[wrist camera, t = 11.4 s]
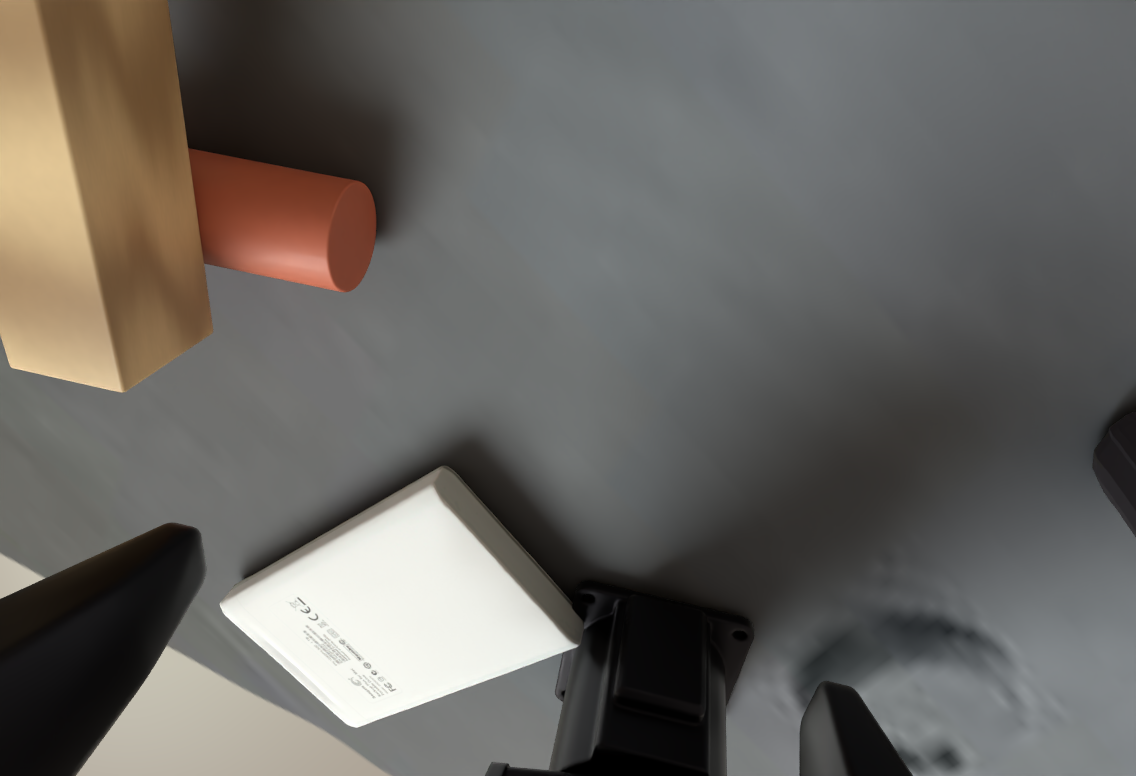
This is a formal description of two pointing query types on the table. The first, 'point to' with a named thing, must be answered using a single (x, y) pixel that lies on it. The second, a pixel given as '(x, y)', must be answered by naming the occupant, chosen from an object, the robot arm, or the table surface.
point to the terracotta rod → (283, 221)
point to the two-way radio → (1119, 467)
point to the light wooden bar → (95, 194)
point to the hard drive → (405, 603)
